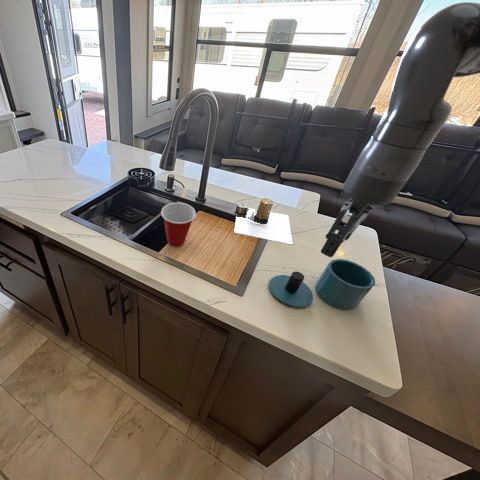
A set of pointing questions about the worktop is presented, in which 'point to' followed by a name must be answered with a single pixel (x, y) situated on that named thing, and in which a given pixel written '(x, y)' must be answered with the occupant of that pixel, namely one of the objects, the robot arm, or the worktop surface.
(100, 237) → the worktop surface
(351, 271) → the canister
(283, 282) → the lid
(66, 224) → the worktop surface
